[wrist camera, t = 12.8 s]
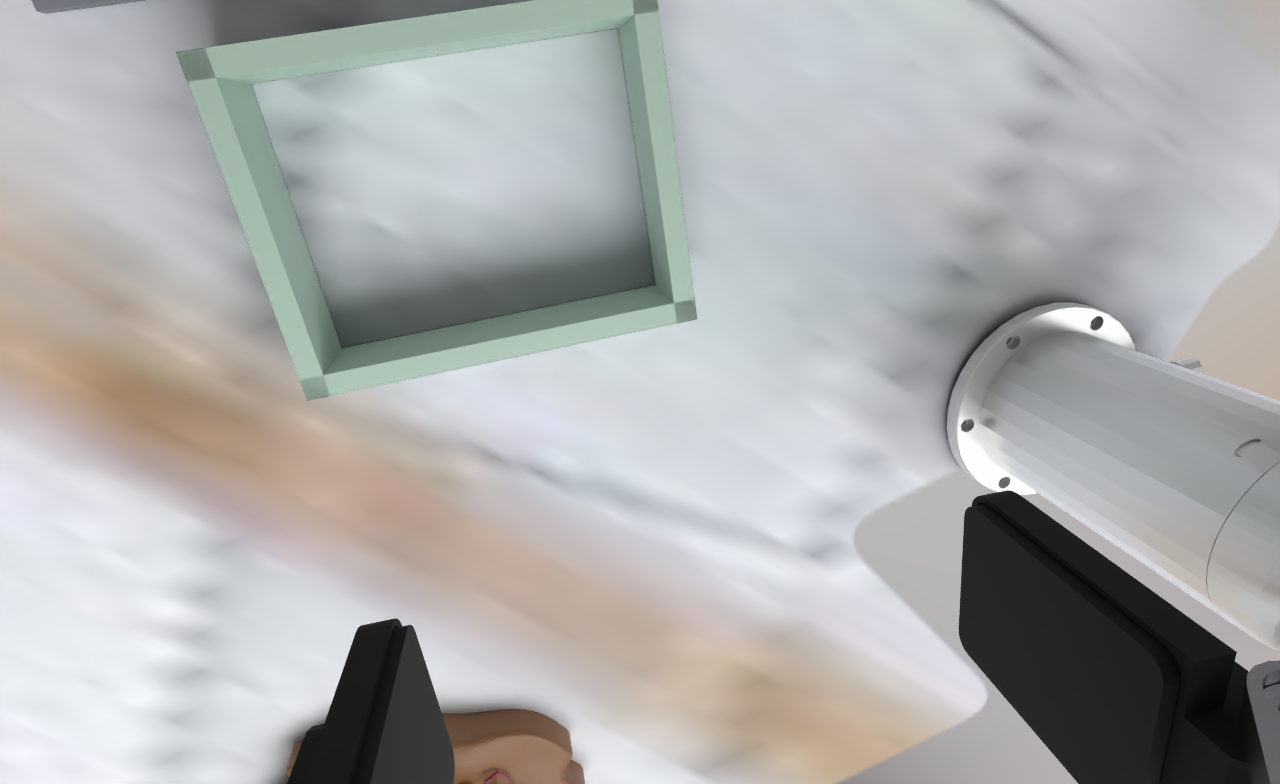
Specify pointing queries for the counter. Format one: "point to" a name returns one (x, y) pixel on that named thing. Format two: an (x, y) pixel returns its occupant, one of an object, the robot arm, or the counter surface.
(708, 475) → the counter surface
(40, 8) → the mat
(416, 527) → the counter surface
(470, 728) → the plant
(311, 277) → the pale green rectangular frame
